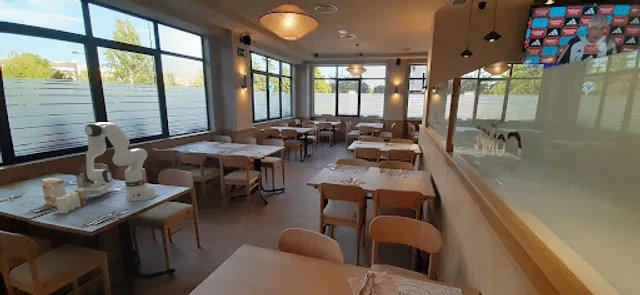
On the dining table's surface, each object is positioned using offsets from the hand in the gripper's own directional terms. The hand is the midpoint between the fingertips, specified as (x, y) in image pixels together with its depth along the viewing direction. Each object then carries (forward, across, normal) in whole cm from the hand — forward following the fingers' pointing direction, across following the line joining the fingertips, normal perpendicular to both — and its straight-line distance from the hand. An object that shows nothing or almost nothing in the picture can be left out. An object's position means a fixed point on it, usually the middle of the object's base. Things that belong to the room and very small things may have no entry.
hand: (82, 194), depth 201 cm
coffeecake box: (-1, -21, +8) cm, 22 cm away
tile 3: (+12, 0, +7) cm, 14 cm away
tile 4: (+17, 0, +7) cm, 18 cm away
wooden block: (+2, 0, +7) cm, 7 cm away
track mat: (+4, 0, +8) cm, 8 cm away
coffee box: (-27, -19, +8) cm, 34 cm away
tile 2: (+7, 0, +7) cm, 10 cm away
